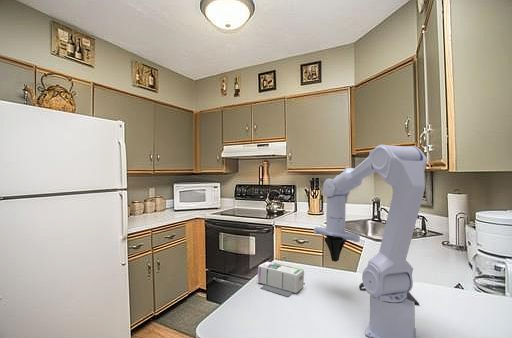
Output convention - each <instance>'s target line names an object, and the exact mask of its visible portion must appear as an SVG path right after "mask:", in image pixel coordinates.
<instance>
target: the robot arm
mask: <svg viewBox="0 0 512 338" xmlns="http://www.w3.org/2000/svg"><path fill="white" fill-rule="evenodd" d="M427 162H428V159H427V157H426V155H425V154H424V152H423V151H422V150H421V149H420V148H419V147H417V146H413V145H410V146H405V145H404V146H402V145H387V144H379V145H377V146H375V148H373V149H371V150H370V151H369V154H368V156H367V157H366V158H365V159H364V160H363V161H362V162H360V163H359V164H358V165H357V166H355V167H354V168H353V167H345V168H344V169H343V172H341V173H340V174H337V175H335V177H334V178H326V179H325V181H324V182H323V186H322V192H323V194H324V196H325V197H326V213H325V214H326V220H325V221H326V223H325V224H326V227H318V226H317V227H313V234H314V235H321V236H326V237H325V238H324V242H325V244H326V245H327V247H328V250H329V254H330V258H331V262H334V263H335V262H338V261H340V256H341V252H342V250H343V248H344V246H345V244H346V242H347V241H352V242H354V243H359V242H360V241H361V240H360V239H361V238H360V237H361V235H360V234H357V233H353V232H349V231H346V203H348V197H349V195H350V193H351V191H353V190H354V189H356V188H358V187H359V186H361V185H362V184H363V179H365V178H367V177H369V176H372V175H373V174H375V173H377V174H378V175H379V176H380V178H381V179H383V181H385V183H387V184H388V185H389V186H390V187H391V188H392V190H393V193H392V197H391V201H390V205H389V209H388V214H387V217H386V223H385V226H384V230H383V234H382V235H383V236H382V237H381V242H380V247H379V251H378V253H377V254H376V255H373V257H372V258H370V259H369V260H368V263H367V265H366V267H365V268H364V270H363V271H362V275H361V279H362V280H361V281H362V283H363V285H364V287H363V288H365V289H366V290H367V291H366V292H367V294H369V323H368V325H367V327H366V330H365V333H364V336H367V337H368V338H369V337H370V338H416V337H417V328H416V327H415V326H416V303H415V302H413V301H410V300H408V299H406V298H407V292H411V291H412V289H413V284H414V281H413V271H414V268H413V266H412V264H410V263H409V261H408V260H407V256H408V254H409V249H410V246H411V242H412V239H413V234H414V231H415V228H416V224H417V220H418V216H419V212H420V210H421V205H422V201H423V198H424V194H425V190H426V182H425V181H426V180H425V172H426V171H425V170H426V166H427ZM365 289H364V290H365Z"/></svg>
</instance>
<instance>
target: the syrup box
mask: <svg viewBox="0 0 512 338" xmlns="http://www.w3.org/2000/svg"><path fill="white" fill-rule="evenodd" d="M304 281H305V270H304V269H302V268H297V267H293V266H289V265H284V264H281V263H280V264H279V263H275V262H271V261H266V262H263V263H261V264H259V265H258V267H257V283H260V284H263V285H265V284H266V285H269V286H273V287H276V288H280V289H283V290H287V291H290V292H294V293H293V294H297V293H298V292H300V291H301V290H302V289H303V288H304V285H305V284H304V283H305V282H304ZM303 284H304V285H303Z"/></svg>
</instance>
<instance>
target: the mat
mask: <svg viewBox="0 0 512 338" xmlns="http://www.w3.org/2000/svg"><path fill="white" fill-rule="evenodd" d="M303 286H305V282H304V284H303ZM260 289H261V290H263V291H267V292H270V293H272V294H276V295H279V296H282V297H286V298H289V297H291V296H292V295H293V294H295V293H294V292H290V291H287V290H283V289H280V288H276V287H273V286H269V285H266V284H263V285H262V286H261V287H260Z"/></svg>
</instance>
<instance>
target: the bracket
mask: <svg viewBox="0 0 512 338" xmlns="http://www.w3.org/2000/svg"><path fill="white" fill-rule="evenodd" d="M358 288H359V291H362V292H363V291H365V292H367V290H366V289H365V287H364V285H363V282H361V283H360V284H359V286H358ZM406 299H408V300H410V301H413V302H415V305H417V307H419V306H420V303H419V302H418V301H417V299H416V298H415V297H414V296H413V295H412V294H411V291H409V292H407V298H406Z"/></svg>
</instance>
